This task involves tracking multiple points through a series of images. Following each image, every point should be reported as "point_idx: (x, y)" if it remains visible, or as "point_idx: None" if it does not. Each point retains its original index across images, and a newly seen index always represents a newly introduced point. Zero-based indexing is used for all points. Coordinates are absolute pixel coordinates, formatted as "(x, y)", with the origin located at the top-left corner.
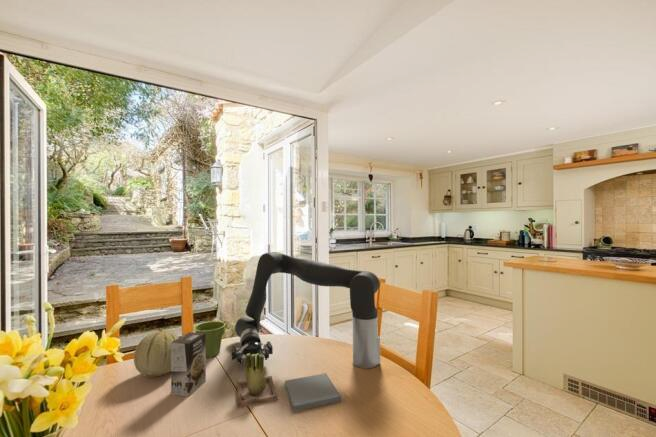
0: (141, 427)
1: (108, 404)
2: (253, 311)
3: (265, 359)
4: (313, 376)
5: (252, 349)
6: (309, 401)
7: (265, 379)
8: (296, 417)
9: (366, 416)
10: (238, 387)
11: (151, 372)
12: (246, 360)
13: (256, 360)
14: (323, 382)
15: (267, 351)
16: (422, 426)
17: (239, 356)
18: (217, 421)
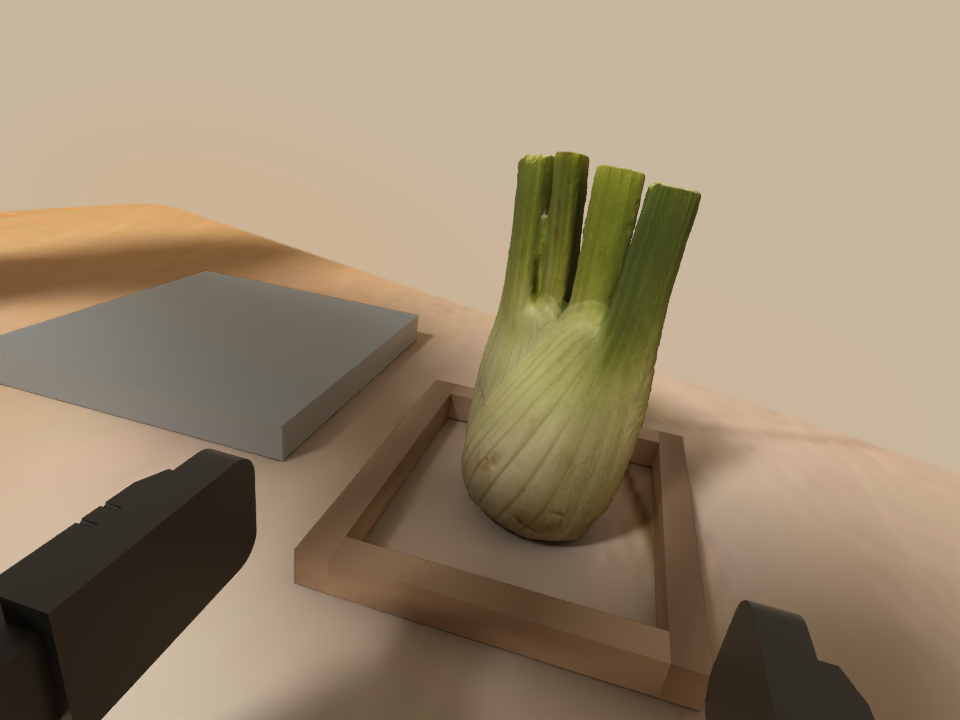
0: None
1: None
2: None
3: (255, 533)
4: (79, 363)
5: None
6: (340, 302)
7: (381, 554)
8: (428, 326)
9: (237, 256)
10: (690, 571)
11: None
12: (679, 260)
13: (580, 217)
14: (129, 320)
15: (50, 558)
16: (183, 217)
17: (816, 669)
18: (787, 445)
